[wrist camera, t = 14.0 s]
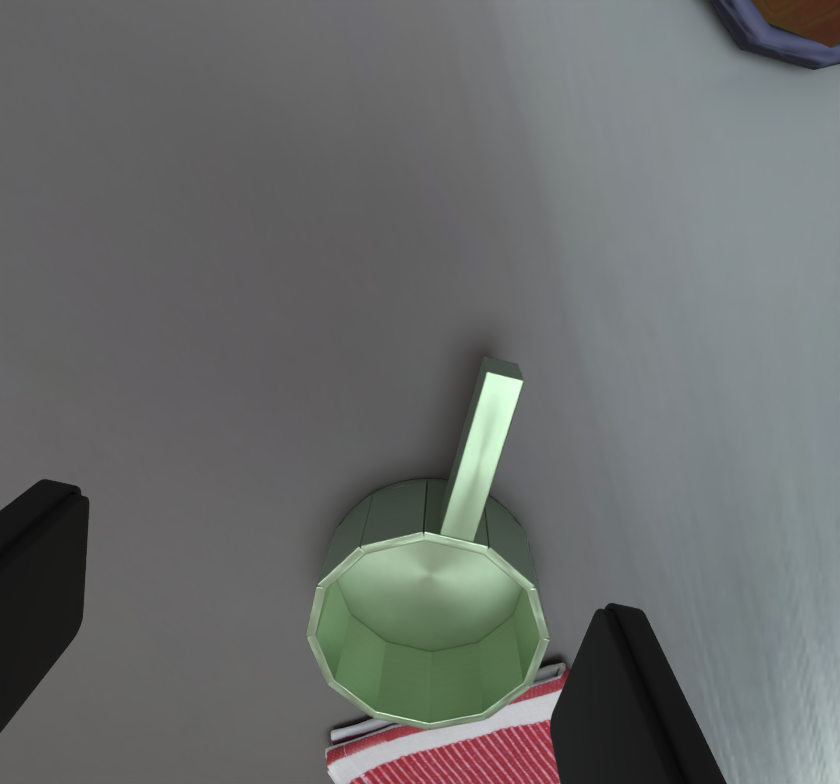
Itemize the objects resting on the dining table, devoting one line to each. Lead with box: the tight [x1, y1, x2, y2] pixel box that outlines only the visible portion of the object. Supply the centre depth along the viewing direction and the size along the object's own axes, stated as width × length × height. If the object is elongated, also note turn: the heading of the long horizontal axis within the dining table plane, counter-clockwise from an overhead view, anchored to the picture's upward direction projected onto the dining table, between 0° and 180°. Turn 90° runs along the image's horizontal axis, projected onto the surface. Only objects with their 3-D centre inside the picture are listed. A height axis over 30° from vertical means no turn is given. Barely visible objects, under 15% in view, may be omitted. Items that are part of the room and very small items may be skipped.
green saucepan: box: [306, 356, 550, 730], centre depth 30 cm, size 20×12×6 cm, turn 166°
